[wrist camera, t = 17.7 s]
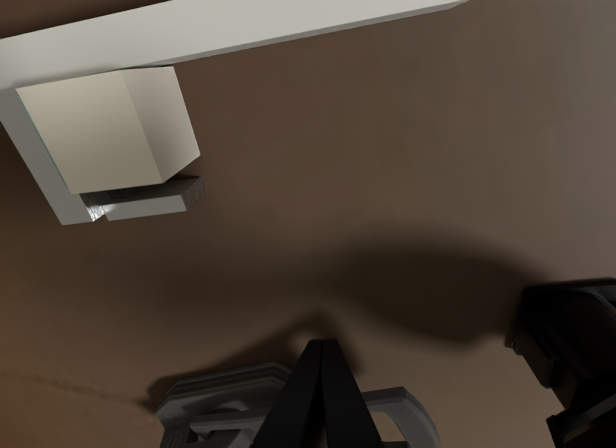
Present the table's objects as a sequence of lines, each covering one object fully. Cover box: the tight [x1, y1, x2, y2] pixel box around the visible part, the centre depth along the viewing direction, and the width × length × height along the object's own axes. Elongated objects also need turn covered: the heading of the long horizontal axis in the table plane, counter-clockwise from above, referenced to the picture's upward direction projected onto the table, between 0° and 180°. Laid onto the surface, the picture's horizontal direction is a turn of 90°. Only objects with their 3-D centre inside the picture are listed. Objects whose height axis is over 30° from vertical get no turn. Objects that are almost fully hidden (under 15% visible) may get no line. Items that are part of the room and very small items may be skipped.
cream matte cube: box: [16, 66, 200, 194], centre depth 17 cm, size 5×5×5 cm
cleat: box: [0, 89, 205, 225], centre depth 18 cm, size 7×8×4 cm
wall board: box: [0, 0, 469, 92], centre depth 15 cm, size 22×2×4 cm, turn 99°
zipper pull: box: [156, 361, 440, 448], centre depth 27 cm, size 9×7×25 cm
